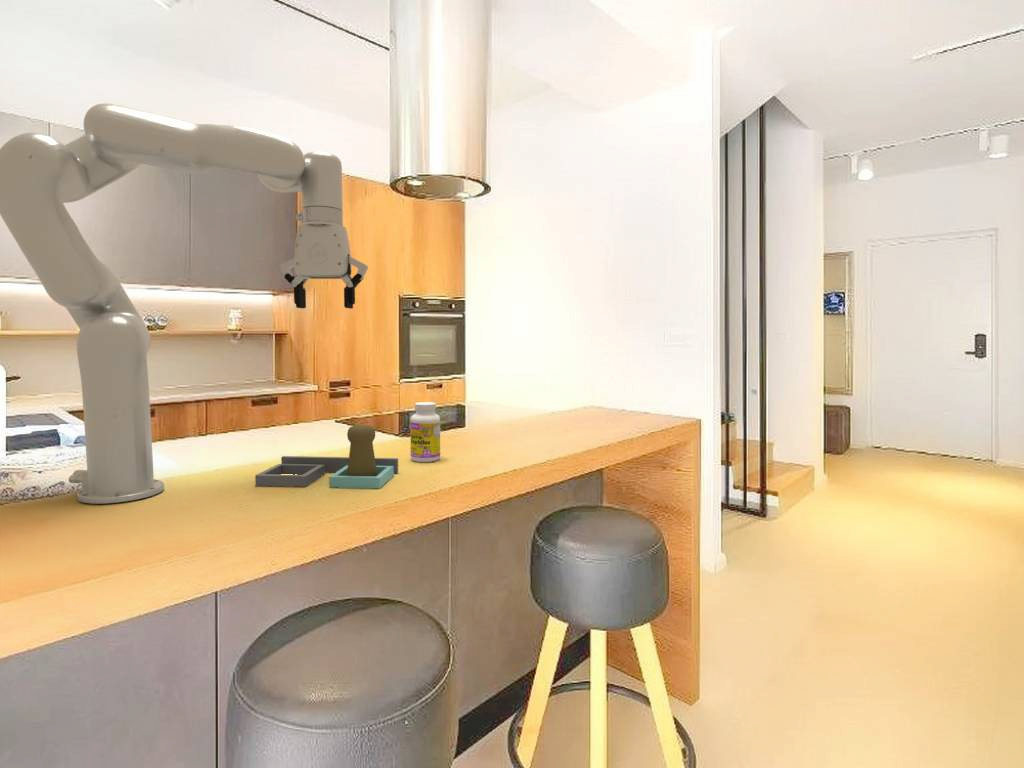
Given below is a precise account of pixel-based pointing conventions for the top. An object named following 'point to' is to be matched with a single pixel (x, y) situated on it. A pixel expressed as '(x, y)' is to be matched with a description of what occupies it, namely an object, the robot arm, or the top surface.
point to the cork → (361, 451)
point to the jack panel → (317, 466)
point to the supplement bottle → (425, 433)
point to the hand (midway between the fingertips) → (324, 308)
